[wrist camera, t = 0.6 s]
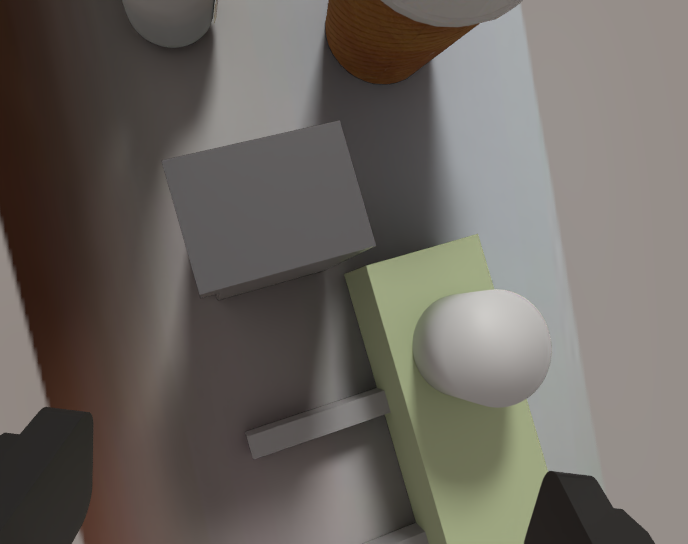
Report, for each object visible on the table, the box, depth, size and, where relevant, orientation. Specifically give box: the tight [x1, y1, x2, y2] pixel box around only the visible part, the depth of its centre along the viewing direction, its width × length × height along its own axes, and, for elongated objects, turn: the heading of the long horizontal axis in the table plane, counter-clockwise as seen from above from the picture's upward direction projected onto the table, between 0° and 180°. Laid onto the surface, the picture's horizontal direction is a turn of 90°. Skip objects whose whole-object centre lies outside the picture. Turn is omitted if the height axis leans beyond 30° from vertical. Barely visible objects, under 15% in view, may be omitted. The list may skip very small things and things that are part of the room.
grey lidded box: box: [161, 120, 376, 300], centre depth 28 cm, size 5×7×11 cm
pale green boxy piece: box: [245, 234, 552, 544], centre depth 30 cm, size 16×14×9 cm
